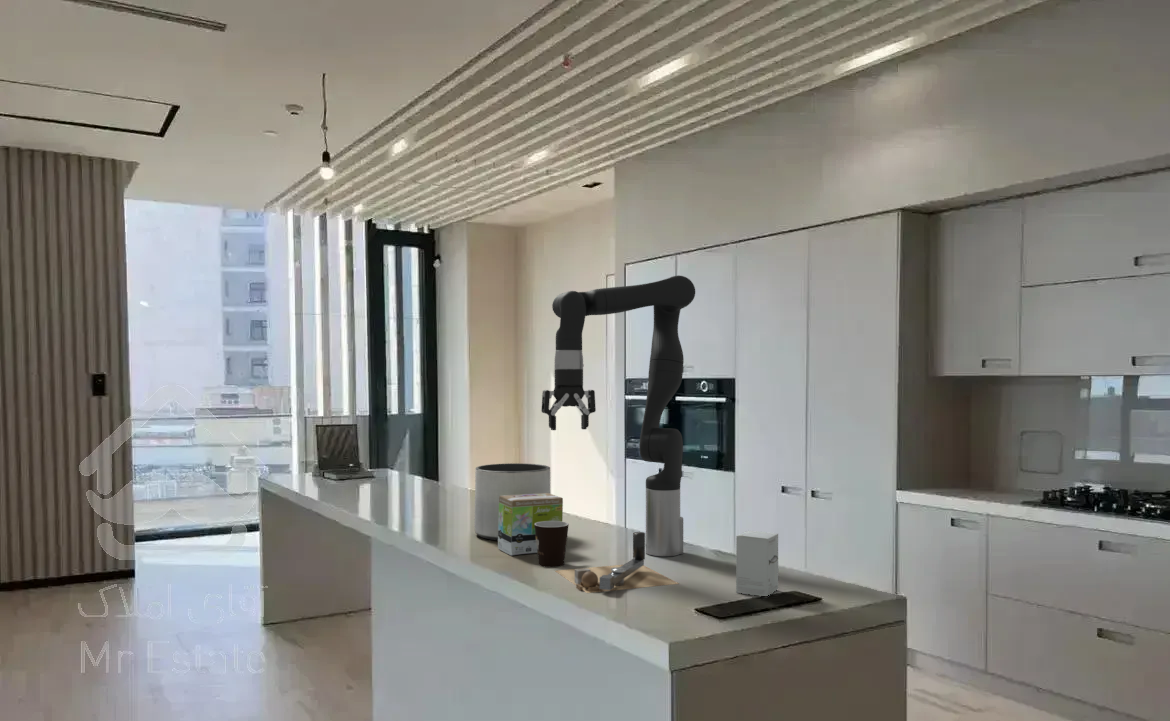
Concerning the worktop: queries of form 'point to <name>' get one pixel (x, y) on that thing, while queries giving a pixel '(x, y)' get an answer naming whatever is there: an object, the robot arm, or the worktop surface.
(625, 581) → the press base
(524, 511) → the tea box
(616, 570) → the lever
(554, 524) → the coffee mug
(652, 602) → the worktop surface
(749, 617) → the worktop surface
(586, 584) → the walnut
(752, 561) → the supplement box
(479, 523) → the planter
